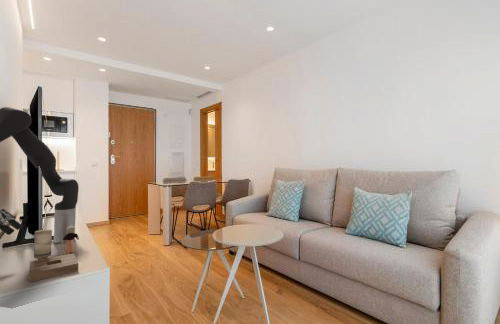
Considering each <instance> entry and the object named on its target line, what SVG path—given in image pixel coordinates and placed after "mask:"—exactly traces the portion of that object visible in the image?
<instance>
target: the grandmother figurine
mask: <svg viewBox="0 0 500 324" xmlns="http://www.w3.org/2000/svg"><path fill="white" fill-rule="evenodd" d="M66 230H67V231H68V234H66V236H65V237H64V238H63V240H62V242H61V243H60V244H61V245H63V244H64V243H65V246H64V253H63V255H68V254H73V253H74V254H75V253H76V251H75V240H77V241H78V240H80V237H79V235H78V233H76V232H75V233H73V232H74V230H75V231H76V226H75V227H74V226H69V227H67V229H66ZM74 238H75V239H74ZM65 240H66V242H64V241H65Z"/></svg>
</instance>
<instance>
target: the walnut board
mask: <svg viewBox="0 0 500 324" xmlns="http://www.w3.org/2000/svg"><path fill="white" fill-rule="evenodd" d="M75 272H79V261H78V259H77V257H76V255H75V253H70V254H68V255H64V254H63V255H58V256H53V257H51V256H50V257H48V258H46V259H40V260H37V259H36V260H30V261H29V283H31V282H35V281H39V280H44V279H49V278H54V277H57V276H62V275H67V274H71V273H75Z"/></svg>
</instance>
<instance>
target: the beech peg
mask: <svg viewBox="0 0 500 324" xmlns="http://www.w3.org/2000/svg"><path fill="white" fill-rule="evenodd" d="M52 238H53V229H50V228H49V229H47V228H45V229H39V230H35V231H34V239H33V240H34V242H33V244H34V245H33V247H34V248H33V259H36V260H40V259H46V258H50V257H51V256H52V247H53V246H52V243H53V239H52Z"/></svg>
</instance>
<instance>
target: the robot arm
mask: <svg viewBox="0 0 500 324" xmlns="http://www.w3.org/2000/svg"><path fill="white" fill-rule="evenodd" d="M31 125H32V115H30V113H28V112H27V111H26V110H22V109H20V108H16V107H11V106H5V107H1V108H0V143H2V142H3V141H5V140H7V139H8V138H10V137H12V138H13V139H14V141H15V142H16V144H17V145H18V146H19V148H20V149H21V151H22V152H23V153H24V154H25V156H26V157H27V159H28V160H29V161H30V163H31V164H32V165H33V166H34V168H35V169H36V170H37V168H38V166H40V168H41V171H42V175H41V176H42V178H43V180H44V181H45V183H46V184H47V186H48V188H49V189H50V191H51V193H52V194H54V195H55V196H58V197H59V196H60V197H62V199H61V200H60V202H57V203H55V204H54V220H53V221H54V222H53V223H54V224H53V242H54V243H55V244H58V243H59V244H61V242H62V240H63V238H64V237H65V236H66V234H68V231H67V230H66V229H67V227H69V226H74V227H75V228H76V217H77V216H76V214H77V213H76V208H77V204H78V199H79V188H80V187H79V183H78V181H77V180H76V179H74V178H73V179H72V178H63V177H61V176H60V175H59V173H58V171H57V170H56V167H57V158H56V157H55V154H54V153H53V152H52V151H51V149H50V148H49V147H48V145H46V144H45V142H43V140H42V139H40V138H39V137H38V136H37V135H36V134H34V132H33V131H32V130H31V129H30V126H31ZM37 137H38V138H39V139H40V140H39V139H38V138H37ZM16 218H17V217H16V216H15V215H13V214H11V212H9V211H7V210H6V209H5V208H1V210H0V231H2V232H3V233H4V234H6V235H7V236H10V235H12V234H13V233H14V232H15V230H16V231H18V230H20V229H21V228H22V227H23V226H24V225H23V224H22V223H20V222H19V221H17V220H16ZM73 233H76V229H75V230H74V232H73ZM74 240H76V238H74ZM64 243H66V240H65V241H64Z"/></svg>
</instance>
